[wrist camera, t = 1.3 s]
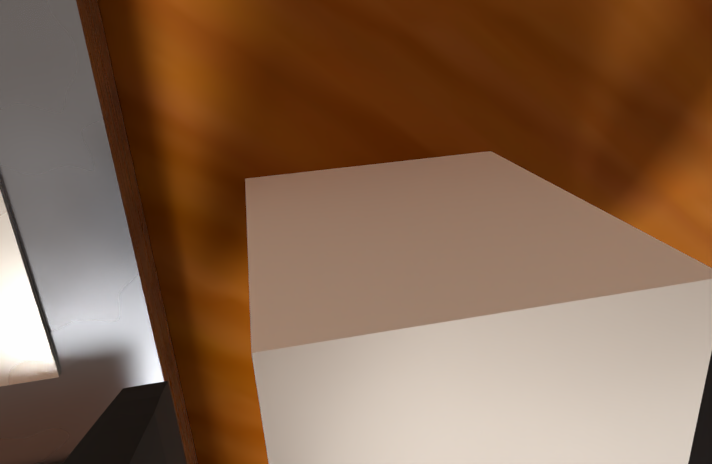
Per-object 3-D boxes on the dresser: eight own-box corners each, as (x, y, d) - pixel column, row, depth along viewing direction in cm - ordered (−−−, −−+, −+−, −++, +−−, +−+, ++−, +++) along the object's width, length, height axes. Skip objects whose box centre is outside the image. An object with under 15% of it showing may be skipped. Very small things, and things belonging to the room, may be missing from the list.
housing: (489, 150, 10) (744, 286, 5) (481, 410, 13) (654, 689, 7) (244, 177, 10) (251, 366, 4) (283, 447, 12) (318, 786, 7)
